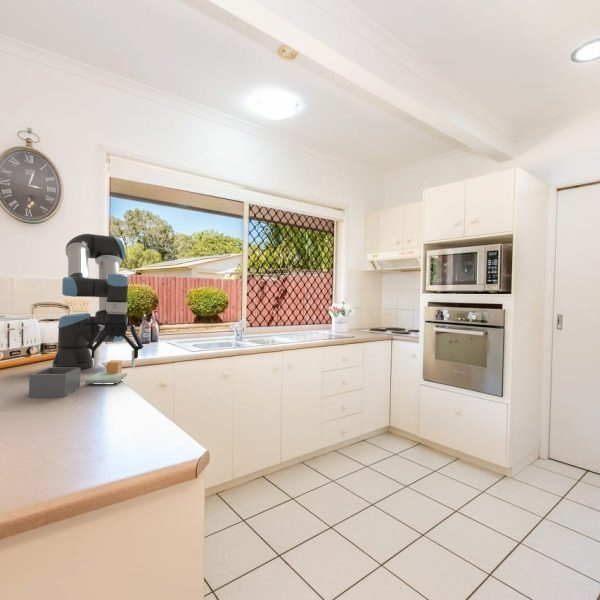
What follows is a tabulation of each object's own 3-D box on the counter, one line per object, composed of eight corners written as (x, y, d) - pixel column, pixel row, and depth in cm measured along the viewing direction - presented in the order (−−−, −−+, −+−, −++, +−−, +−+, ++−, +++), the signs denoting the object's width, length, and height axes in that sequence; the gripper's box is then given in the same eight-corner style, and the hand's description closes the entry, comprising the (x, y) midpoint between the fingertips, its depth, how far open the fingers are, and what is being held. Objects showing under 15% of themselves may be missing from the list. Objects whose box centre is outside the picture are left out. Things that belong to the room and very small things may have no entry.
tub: (47, 387, 124) (48, 367, 124) (79, 387, 126) (80, 367, 126) (28, 397, 113) (29, 374, 113) (64, 397, 115) (65, 374, 115)
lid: (101, 375, 147) (102, 360, 147) (130, 375, 149) (130, 360, 149) (85, 386, 129) (85, 369, 129) (117, 385, 131) (118, 369, 131)
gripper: (78, 312, 139) (76, 368, 139) (148, 314, 144) (146, 368, 144) (85, 311, 146) (83, 364, 146) (151, 313, 151) (150, 364, 151)
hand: (114, 366), depth 145 cm, fingers open, 13 cm apart
